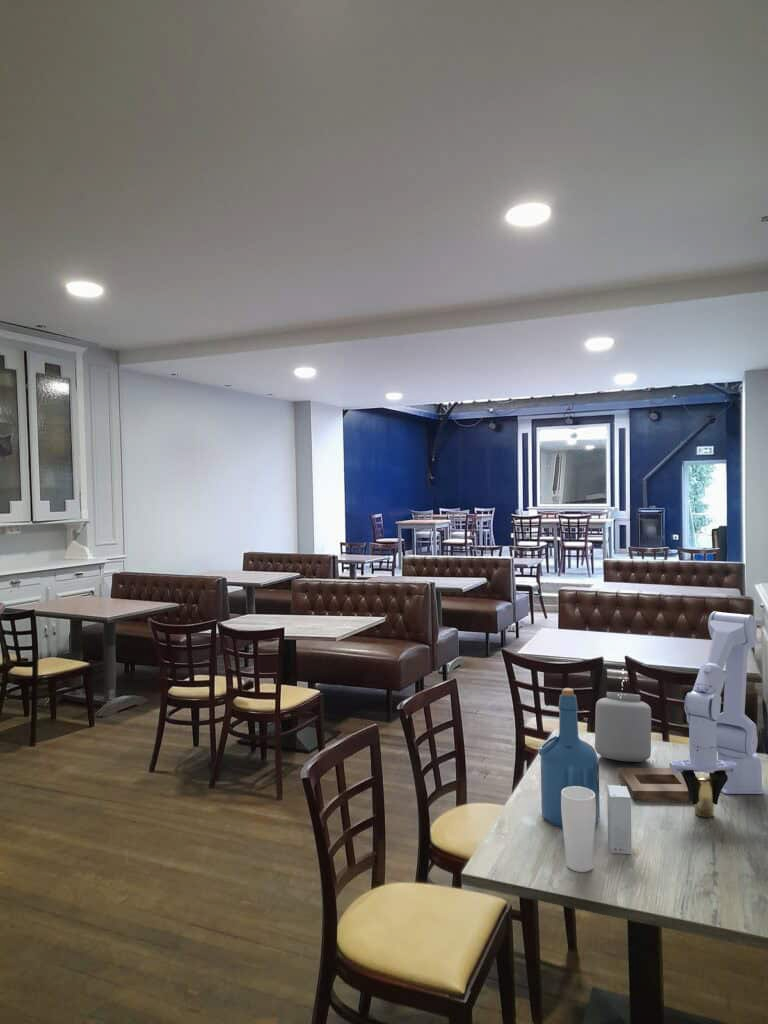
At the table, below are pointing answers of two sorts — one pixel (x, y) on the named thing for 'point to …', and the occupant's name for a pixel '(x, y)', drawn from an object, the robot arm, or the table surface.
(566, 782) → the wine bottle
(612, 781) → the table surface
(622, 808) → the skincare box
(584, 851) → the drinking glass
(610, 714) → the jar
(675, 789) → the jig plate
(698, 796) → the brass peg
